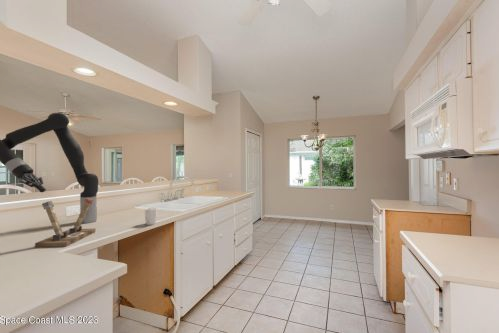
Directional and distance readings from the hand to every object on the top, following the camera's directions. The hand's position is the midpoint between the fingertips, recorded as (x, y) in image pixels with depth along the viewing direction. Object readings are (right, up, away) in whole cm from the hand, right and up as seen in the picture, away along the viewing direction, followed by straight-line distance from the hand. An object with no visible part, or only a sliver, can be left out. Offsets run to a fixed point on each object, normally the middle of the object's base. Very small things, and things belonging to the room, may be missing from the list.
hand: (44, 191), depth 126 cm
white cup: (+47, -25, +27) cm, 60 cm away
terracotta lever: (+16, -22, +1) cm, 27 cm away
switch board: (+17, -25, -5) cm, 30 cm away
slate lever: (+18, -21, -11) cm, 30 cm away
